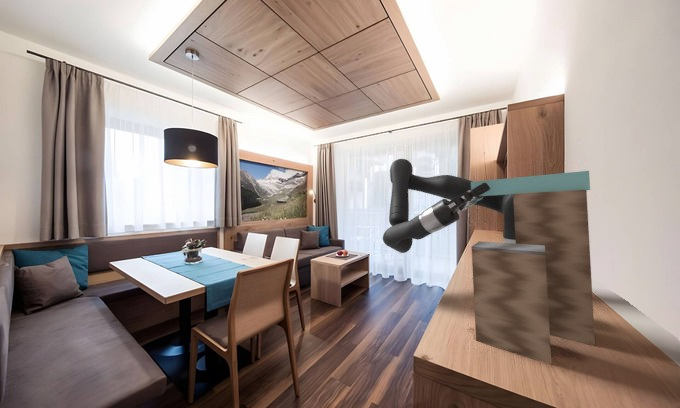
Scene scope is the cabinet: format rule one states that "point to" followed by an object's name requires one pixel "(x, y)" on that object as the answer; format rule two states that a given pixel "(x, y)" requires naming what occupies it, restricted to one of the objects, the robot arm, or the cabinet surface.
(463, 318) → the cabinet surface
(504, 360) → the cabinet surface
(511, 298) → the brown wooden block
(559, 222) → the stand
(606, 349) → the cabinet surface
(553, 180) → the batten
